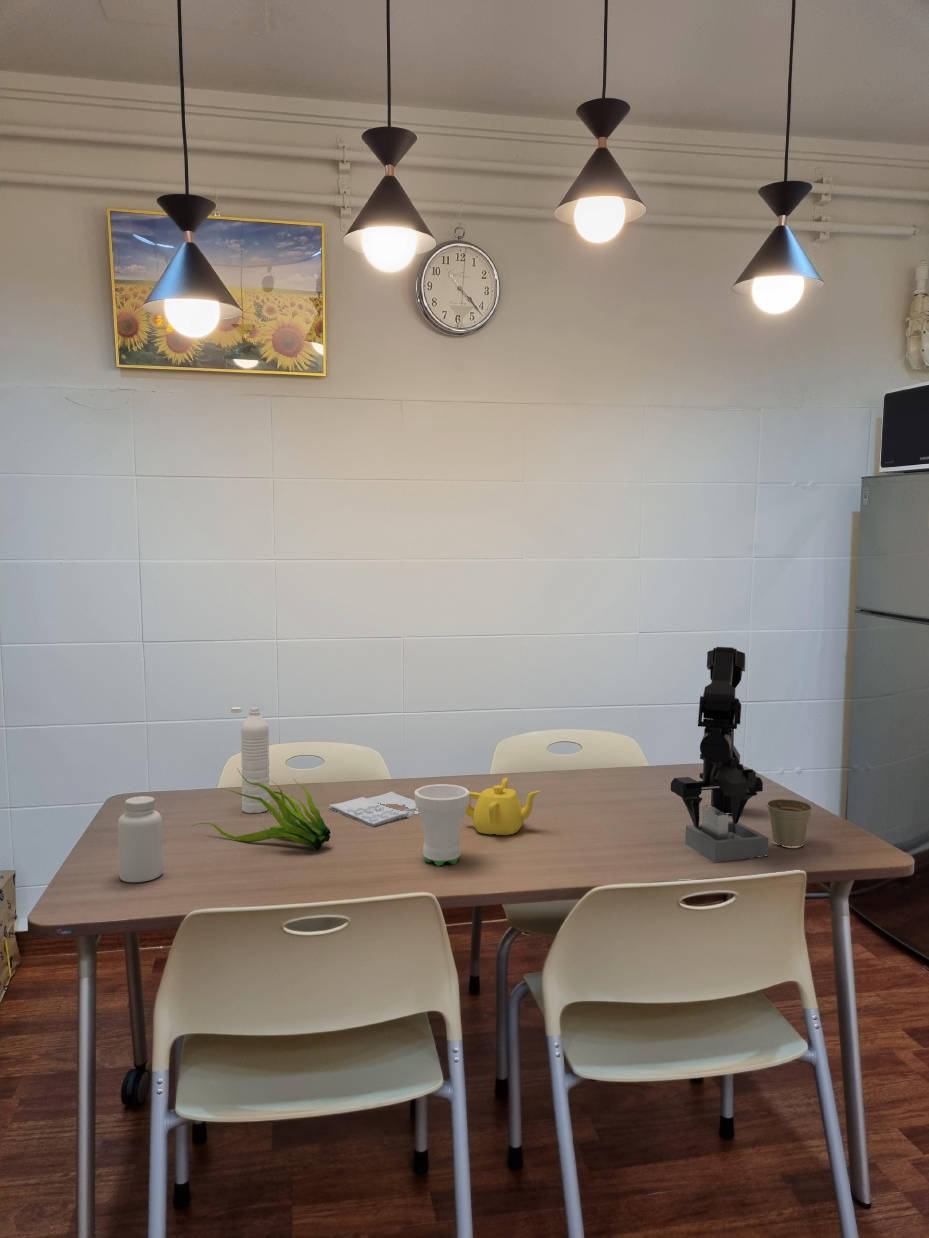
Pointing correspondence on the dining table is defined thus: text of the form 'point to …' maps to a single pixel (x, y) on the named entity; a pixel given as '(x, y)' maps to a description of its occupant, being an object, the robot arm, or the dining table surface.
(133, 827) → the pill bottle
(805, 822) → the flower pot
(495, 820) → the teapot
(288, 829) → the decorative plant
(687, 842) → the bin
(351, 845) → the dining table surface
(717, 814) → the bracket
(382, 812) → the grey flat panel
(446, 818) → the cup
